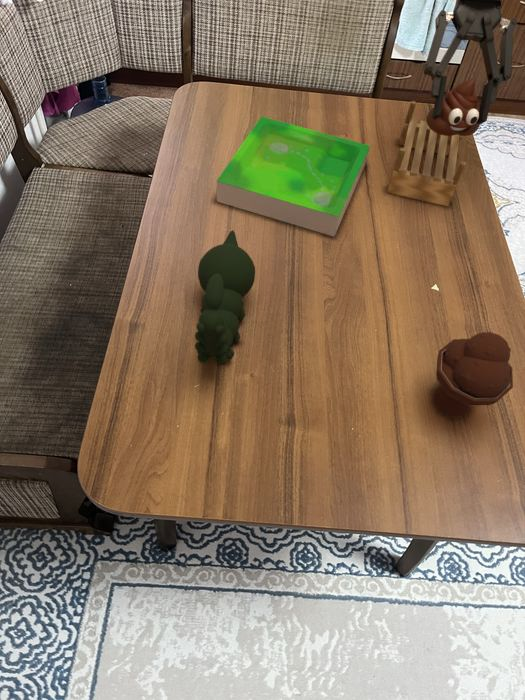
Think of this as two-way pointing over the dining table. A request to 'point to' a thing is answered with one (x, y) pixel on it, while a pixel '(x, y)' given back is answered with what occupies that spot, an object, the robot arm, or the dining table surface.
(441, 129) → the poop emoji
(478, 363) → the ice cream bowl
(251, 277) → the toy figurine
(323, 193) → the green terrain map board
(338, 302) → the dining table surface
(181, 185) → the dining table surface
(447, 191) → the brown wooden slatted frame
